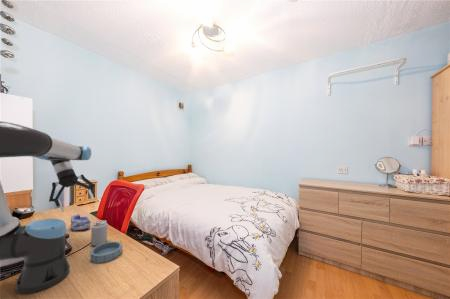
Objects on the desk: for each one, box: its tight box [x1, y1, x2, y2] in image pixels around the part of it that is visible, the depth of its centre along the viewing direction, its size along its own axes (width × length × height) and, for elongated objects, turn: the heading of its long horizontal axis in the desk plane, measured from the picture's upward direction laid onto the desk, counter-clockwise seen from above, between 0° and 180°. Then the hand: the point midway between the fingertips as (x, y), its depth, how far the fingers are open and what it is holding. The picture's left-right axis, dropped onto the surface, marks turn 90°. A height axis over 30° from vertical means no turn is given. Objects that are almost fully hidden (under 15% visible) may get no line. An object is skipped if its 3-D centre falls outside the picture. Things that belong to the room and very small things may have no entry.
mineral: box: [69, 213, 91, 232], centre depth 116 cm, size 14×10×10 cm
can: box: [90, 219, 109, 247], centre depth 99 cm, size 8×8×12 cm
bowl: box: [89, 240, 123, 264], centre depth 88 cm, size 13×13×4 cm
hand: (79, 205), depth 97 cm, fingers open, 13 cm apart
